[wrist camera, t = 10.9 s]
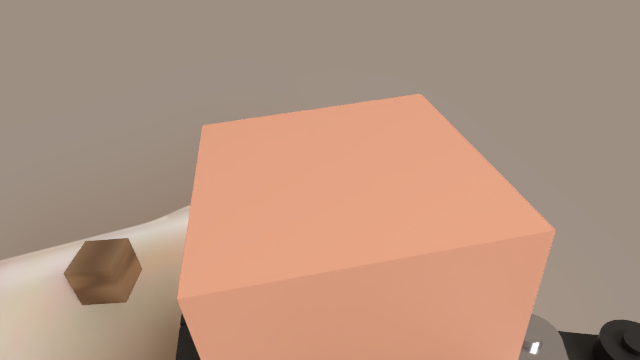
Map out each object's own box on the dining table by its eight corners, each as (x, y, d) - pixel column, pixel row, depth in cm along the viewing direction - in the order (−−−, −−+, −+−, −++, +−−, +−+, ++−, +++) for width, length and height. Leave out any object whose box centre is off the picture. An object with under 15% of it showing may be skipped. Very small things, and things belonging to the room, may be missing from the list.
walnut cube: (82, 305, 38) (63, 273, 36) (102, 272, 41) (85, 241, 39) (126, 302, 38) (109, 270, 35) (142, 269, 41) (128, 238, 39)
